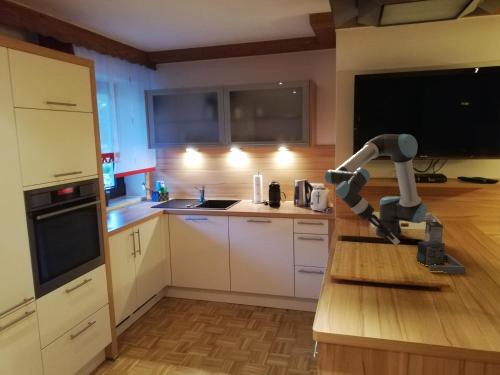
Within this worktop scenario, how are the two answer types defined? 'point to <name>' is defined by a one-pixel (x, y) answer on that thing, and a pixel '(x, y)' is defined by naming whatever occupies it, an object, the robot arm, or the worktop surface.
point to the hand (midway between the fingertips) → (397, 243)
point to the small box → (430, 252)
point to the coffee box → (433, 231)
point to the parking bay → (454, 268)
